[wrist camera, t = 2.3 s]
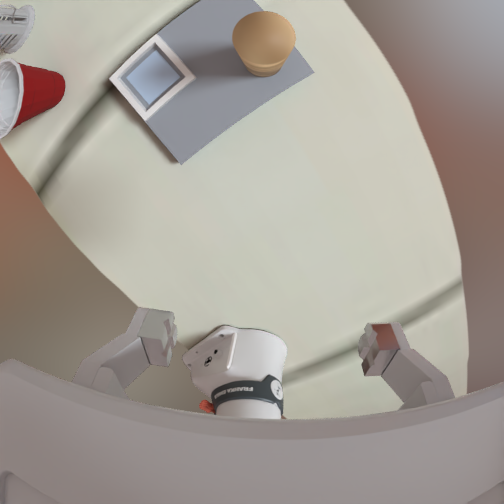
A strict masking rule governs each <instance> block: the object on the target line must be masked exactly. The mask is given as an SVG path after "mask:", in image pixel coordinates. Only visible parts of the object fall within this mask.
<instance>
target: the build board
mask: <svg viewBox="0 0 504 504" xmlns="http://www.w3.org/2000/svg"><path fill="white" fill-rule="evenodd" d="M259 11H263V10H262V9H261V7H260V6H259V5H258V4H257V3H256V2H255V1H254V0H201V1H199V2H198V3H196V4H195V5H193V6H192V7H190V8H189V9H188V10H186V11H185V12H183V13H182V14H181V15H179V16H178V17H177V18H175V19H174V20H173V21H172V22H170V23H169V24H168V25H166V26H165V27H164V28H163V29H162V30H160V31H159V32H158V33H157V34H155V35H154V36H153V37H152V38H151V39H150V40H148V41H147V42H146V43H145V44H144V45H143V46H142V47H141V48H140V49H138V50H137V51H136V52H135V53H134V54H133V55H132V56H131V57H130V58H129V59H128V60H127V61H126V62H125V63H124V64H123V65H122V66H121V67H120V68H119V69H118V70H117V71H116V72H115V73H114V74H113V75H112V76H111V77H110V78H109V80H110V81H111V82H112V83H113V85H114V86H115V87H116V88H117V89H118V90H119V92H120V93H121V94H122V95H123V96H124V98H125V99H126V100H127V101H128V102H129V103H130V105H131V106H132V107H133V108H134V109H135V111H136V112H137V113H138V114H139V115H140V117H141V118H142V119H143V120H144V121H145V123H146V124H147V125H148V126H149V127H150V128H151V130H152V131H153V132H154V133H155V134H156V136H157V137H158V138H159V139H160V140H161V142H162V143H163V144H164V145H165V146H166V147H167V149H168V150H169V151H170V152H171V153H172V155H173V156H174V157H175V158H176V159H177V161H178V162H179V163H180V164H181V165H182V164H183V163H184V162H185V161H187V160H188V159H189V158H190V157H192V156H193V155H194V154H195V153H197V152H198V151H199V150H200V149H202V148H203V147H204V146H205V145H207V144H208V143H209V142H211V141H212V140H213V139H215V138H216V137H217V136H219V135H220V134H221V133H223V132H224V131H225V130H227V129H228V128H229V127H231V126H232V125H234V124H235V123H236V122H238V121H239V120H241V119H242V118H243V117H245V116H246V115H248V114H249V113H251V112H252V111H254V110H255V109H256V108H258V107H259V106H261V105H262V104H264V103H266V102H267V101H269V100H270V99H272V98H273V97H275V96H276V95H278V94H279V93H281V92H283V91H284V90H286V89H287V88H289V87H291V86H292V85H294V84H296V83H297V82H299V81H301V80H302V79H304V78H306V77H308V76H309V75H311V74H313V73H314V71H313V70H312V68H311V67H310V66H309V64H308V63H307V62H306V60H305V59H304V58H303V57H302V55H301V54H300V53H299V51H298V50H297V49H296V48H295V46H294V48H293V50H292V51H291V53H290V55H289V56H288V58H287V59H286V61H285V63H284V64H283V66H282V68H281V69H280V70H279V72H278V73H276V74H275V75H273V76H270V77H258V76H255V75H253V74H252V73H250V72H249V71H248V70H247V68H246V67H245V65H244V63H243V61H242V60H241V58H240V56H239V54H238V53H237V51H236V49H235V47H234V45H233V41H232V33H233V30H234V27H235V26H236V24H237V23H238V21H239V20H241V19H242V18H243V17H244V16H246V15H248V14H251V13H254V12H259Z"/></svg>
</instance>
